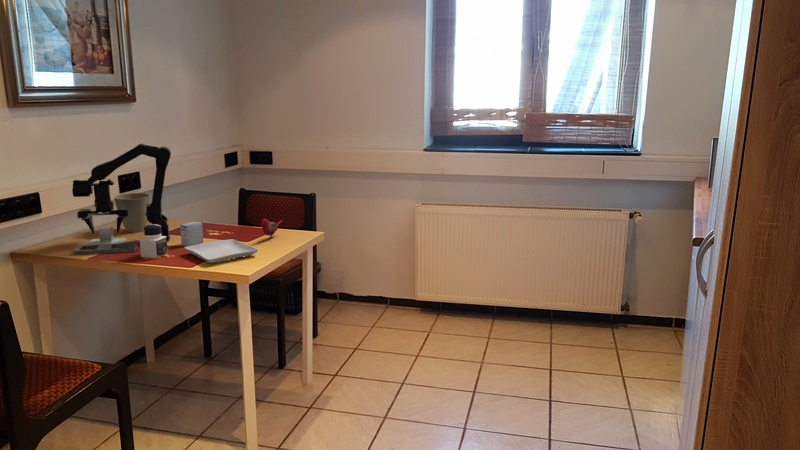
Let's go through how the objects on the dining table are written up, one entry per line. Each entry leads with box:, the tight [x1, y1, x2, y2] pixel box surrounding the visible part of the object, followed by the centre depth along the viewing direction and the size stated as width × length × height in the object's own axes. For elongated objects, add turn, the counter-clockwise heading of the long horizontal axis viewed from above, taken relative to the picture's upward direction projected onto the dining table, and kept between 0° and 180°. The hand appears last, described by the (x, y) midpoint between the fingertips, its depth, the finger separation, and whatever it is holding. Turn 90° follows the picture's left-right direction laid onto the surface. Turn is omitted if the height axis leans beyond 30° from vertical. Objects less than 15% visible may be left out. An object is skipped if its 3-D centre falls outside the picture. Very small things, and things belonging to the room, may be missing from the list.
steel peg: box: [98, 225, 115, 243], centre depth 244 cm, size 4×4×6 cm
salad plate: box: [183, 238, 259, 264], centre depth 230 cm, size 21×21×3 cm
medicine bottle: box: [139, 223, 169, 259], centre depth 227 cm, size 7×7×12 cm
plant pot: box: [113, 192, 151, 233], centre depth 263 cm, size 15×15×16 cm
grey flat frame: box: [72, 241, 139, 256], centre depth 234 cm, size 22×9×2 cm, turn 106°
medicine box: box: [179, 221, 204, 247], centre depth 245 cm, size 8×4×9 cm, turn 149°
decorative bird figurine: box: [260, 218, 283, 241], centre depth 256 cm, size 3×18×10 cm, turn 161°
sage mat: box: [87, 237, 127, 245], centre depth 244 cm, size 13×10×1 cm
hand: (106, 233), depth 244 cm, fingers open, 9 cm apart
